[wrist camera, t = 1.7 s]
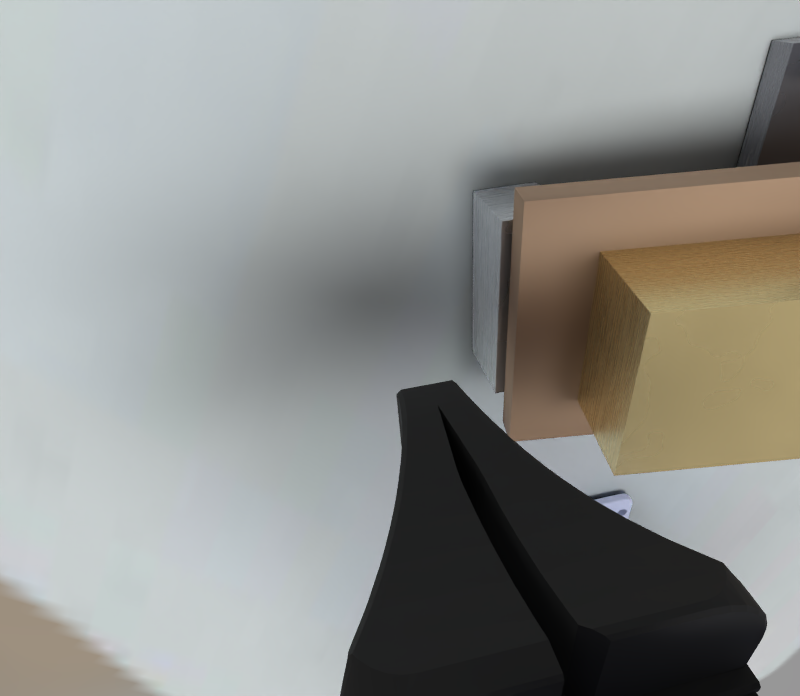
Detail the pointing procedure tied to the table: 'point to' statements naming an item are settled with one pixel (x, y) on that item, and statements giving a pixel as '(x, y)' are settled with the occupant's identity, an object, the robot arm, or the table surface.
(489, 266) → the stand
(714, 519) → the table surface
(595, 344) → the block
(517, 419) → the beam
